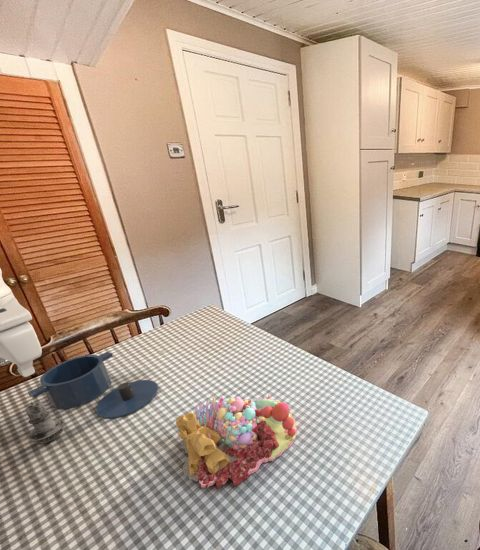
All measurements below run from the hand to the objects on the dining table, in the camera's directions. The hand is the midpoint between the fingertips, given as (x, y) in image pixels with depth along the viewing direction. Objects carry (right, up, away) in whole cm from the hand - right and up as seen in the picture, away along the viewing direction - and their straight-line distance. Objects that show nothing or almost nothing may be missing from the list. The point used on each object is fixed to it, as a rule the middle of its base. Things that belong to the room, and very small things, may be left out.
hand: (16, 368), depth 64 cm
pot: (-6, -14, +22) cm, 26 cm away
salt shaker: (0, -20, +8) cm, 21 cm away
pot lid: (+9, -14, +19) cm, 25 cm away
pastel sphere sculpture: (+44, -19, +8) cm, 49 cm away
